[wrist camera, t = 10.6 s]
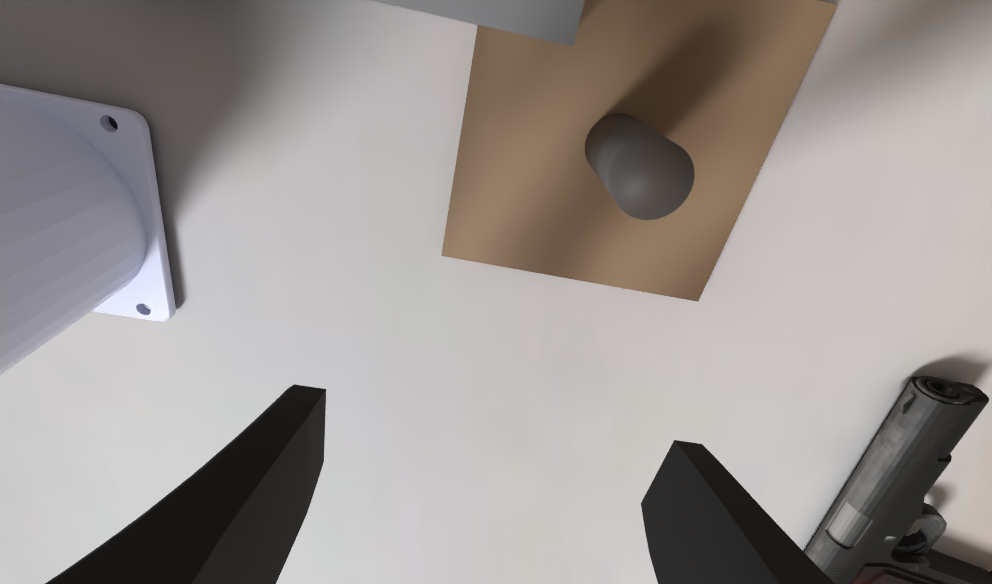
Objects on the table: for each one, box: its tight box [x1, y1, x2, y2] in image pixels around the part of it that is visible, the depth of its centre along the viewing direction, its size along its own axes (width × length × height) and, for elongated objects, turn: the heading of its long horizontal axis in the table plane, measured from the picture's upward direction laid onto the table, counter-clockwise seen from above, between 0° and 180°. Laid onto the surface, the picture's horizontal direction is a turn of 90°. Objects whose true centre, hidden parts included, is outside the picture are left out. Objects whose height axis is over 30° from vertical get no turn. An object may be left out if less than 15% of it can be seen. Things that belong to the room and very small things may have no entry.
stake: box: [442, 0, 837, 301], centre depth 14 cm, size 10×10×5 cm
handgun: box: [804, 376, 992, 584], centre depth 25 cm, size 2×18×12 cm
